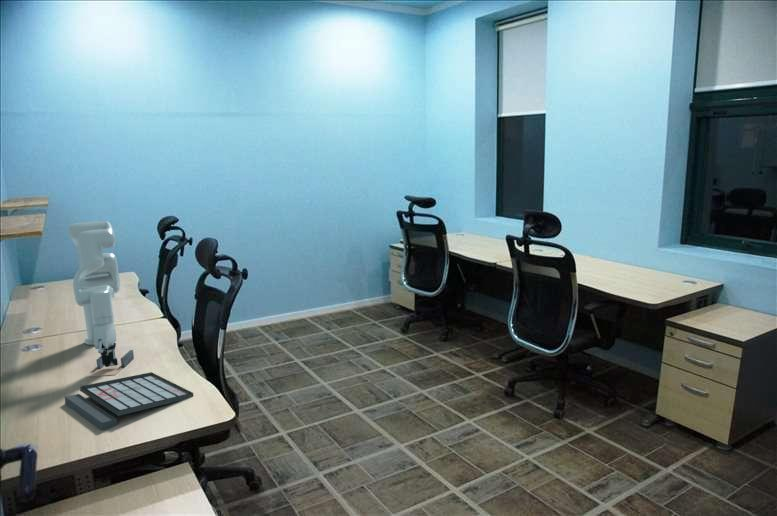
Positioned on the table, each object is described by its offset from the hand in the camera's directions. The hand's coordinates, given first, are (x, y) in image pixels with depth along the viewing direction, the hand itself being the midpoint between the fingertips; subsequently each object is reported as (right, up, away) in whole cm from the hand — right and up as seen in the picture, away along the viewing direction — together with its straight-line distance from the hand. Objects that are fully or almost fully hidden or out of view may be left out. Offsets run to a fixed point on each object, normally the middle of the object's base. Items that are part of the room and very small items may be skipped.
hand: (109, 361), depth 221 cm
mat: (0, -4, -3) cm, 5 cm away
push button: (0, -2, 0) cm, 2 cm away
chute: (0, -2, +6) cm, 7 cm away
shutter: (+22, -9, -29) cm, 37 cm away
